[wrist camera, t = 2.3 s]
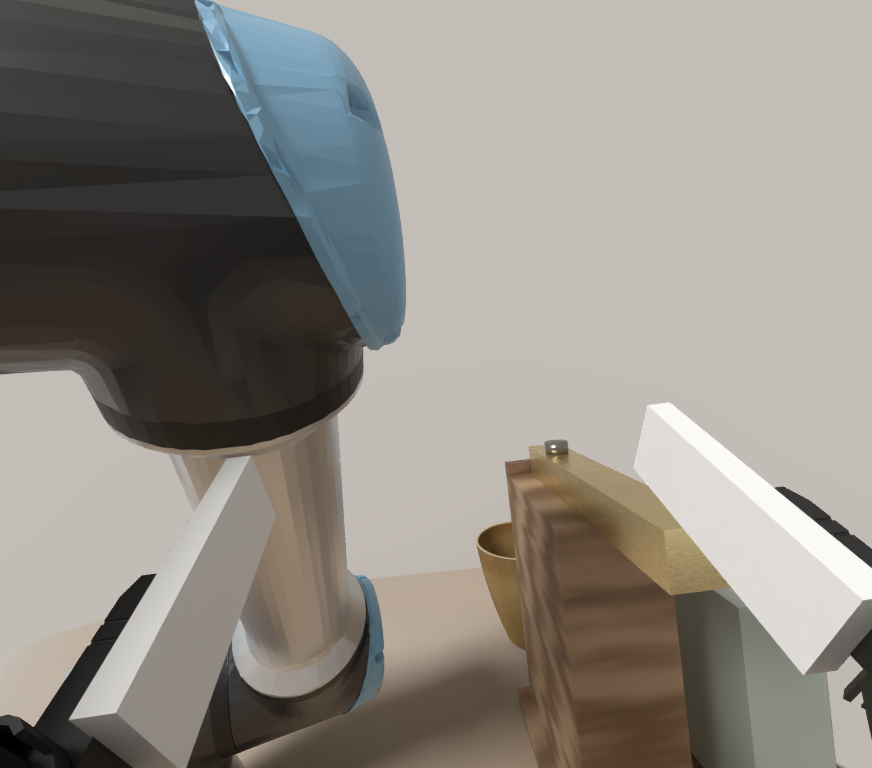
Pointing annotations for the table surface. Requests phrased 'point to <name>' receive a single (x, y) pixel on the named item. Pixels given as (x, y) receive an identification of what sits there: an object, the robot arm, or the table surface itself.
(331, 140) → the robot arm
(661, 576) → the brass bar
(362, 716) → the table surface
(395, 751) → the table surface
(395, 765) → the table surface
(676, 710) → the walnut stand
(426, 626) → the table surface
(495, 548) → the plant pot
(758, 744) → the grey block
